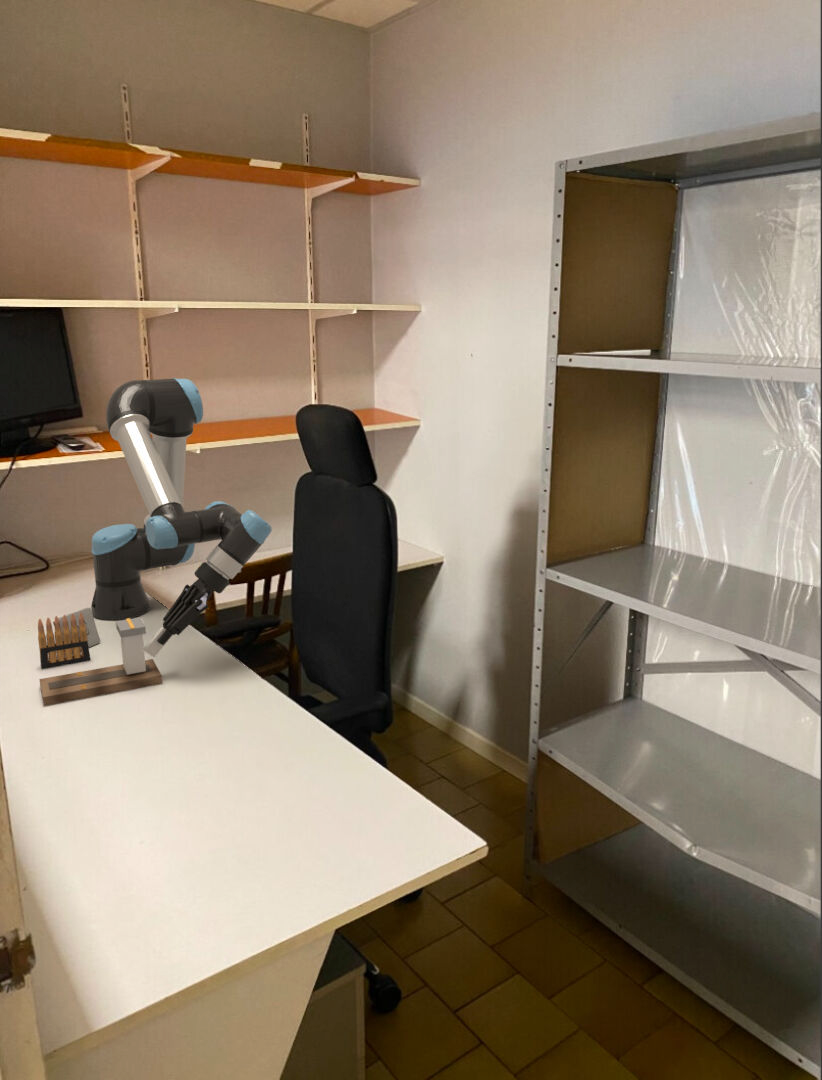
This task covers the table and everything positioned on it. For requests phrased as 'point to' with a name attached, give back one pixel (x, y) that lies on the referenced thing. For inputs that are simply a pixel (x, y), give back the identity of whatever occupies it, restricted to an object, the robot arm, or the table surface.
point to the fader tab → (132, 644)
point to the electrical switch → (89, 624)
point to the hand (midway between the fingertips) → (148, 653)
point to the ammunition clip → (63, 643)
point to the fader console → (96, 683)
